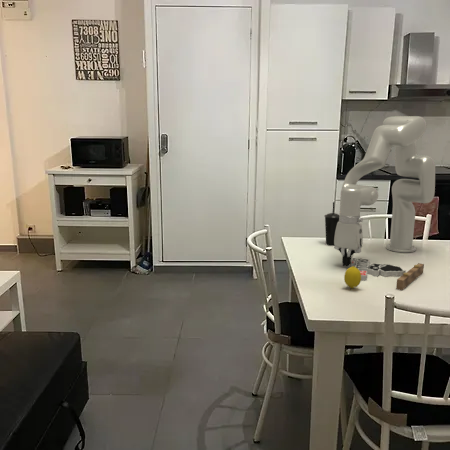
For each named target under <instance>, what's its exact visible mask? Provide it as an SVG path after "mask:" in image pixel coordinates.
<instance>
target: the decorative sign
mask: <svg viewBox="0 0 450 450" xmlns="http://www.w3.org/2000/svg"><path fill="white" fill-rule="evenodd" d="M352 266H354V267H356V268H357V269H358V270H359V271H360V273H361V281H360V282H362V281H363V282H365V281H368V280H367V279H368V275H370V276H373V277H379V276H382V277H384V278H389V277H390V278H391V277H394V278H395V277H396V278H400V277H401V276H402V275H403V274H404V273H406V272H407V270H405V269H404V268H402V267H401V266H399V265H394V264H389V263H371V262H370V259H367V258H356V257H351V264H350V267H352Z"/></svg>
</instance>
